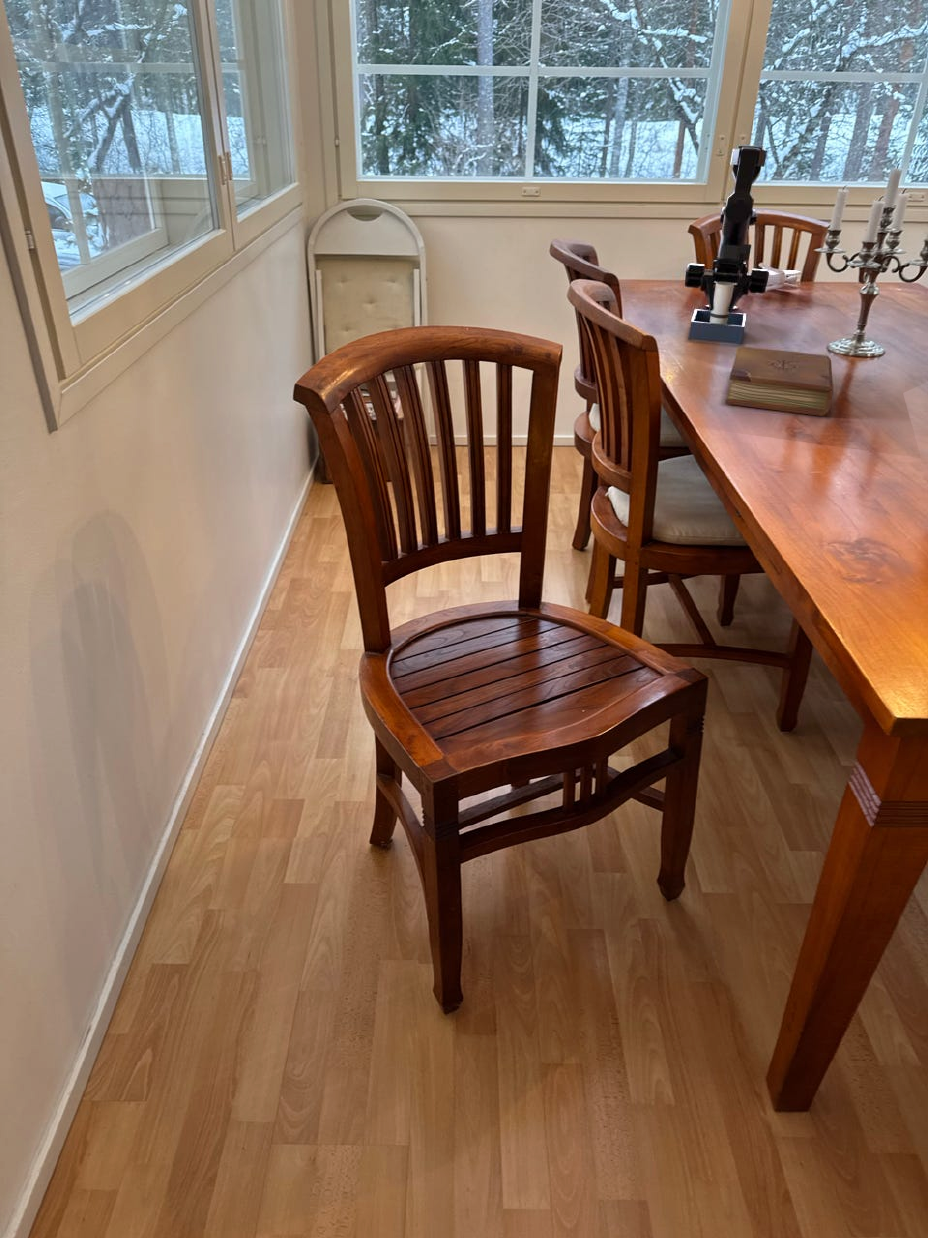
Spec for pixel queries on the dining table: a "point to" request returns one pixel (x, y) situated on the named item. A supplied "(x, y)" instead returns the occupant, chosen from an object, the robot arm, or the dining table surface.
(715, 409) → the dining table surface
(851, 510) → the dining table surface
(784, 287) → the figurine
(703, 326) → the box
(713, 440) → the dining table surface
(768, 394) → the diary
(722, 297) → the light grey piece
